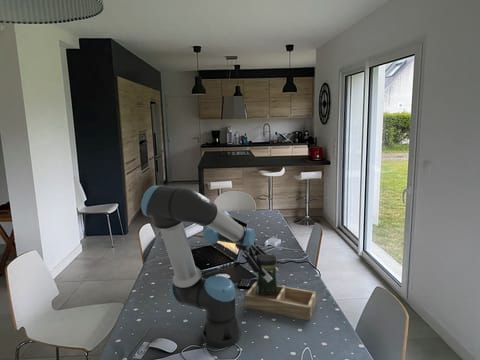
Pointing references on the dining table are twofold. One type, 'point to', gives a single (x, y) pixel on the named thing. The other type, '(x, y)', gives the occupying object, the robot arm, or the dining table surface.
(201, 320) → the dining table surface
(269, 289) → the coffee jar
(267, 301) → the jar crate
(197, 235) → the dining table surface
